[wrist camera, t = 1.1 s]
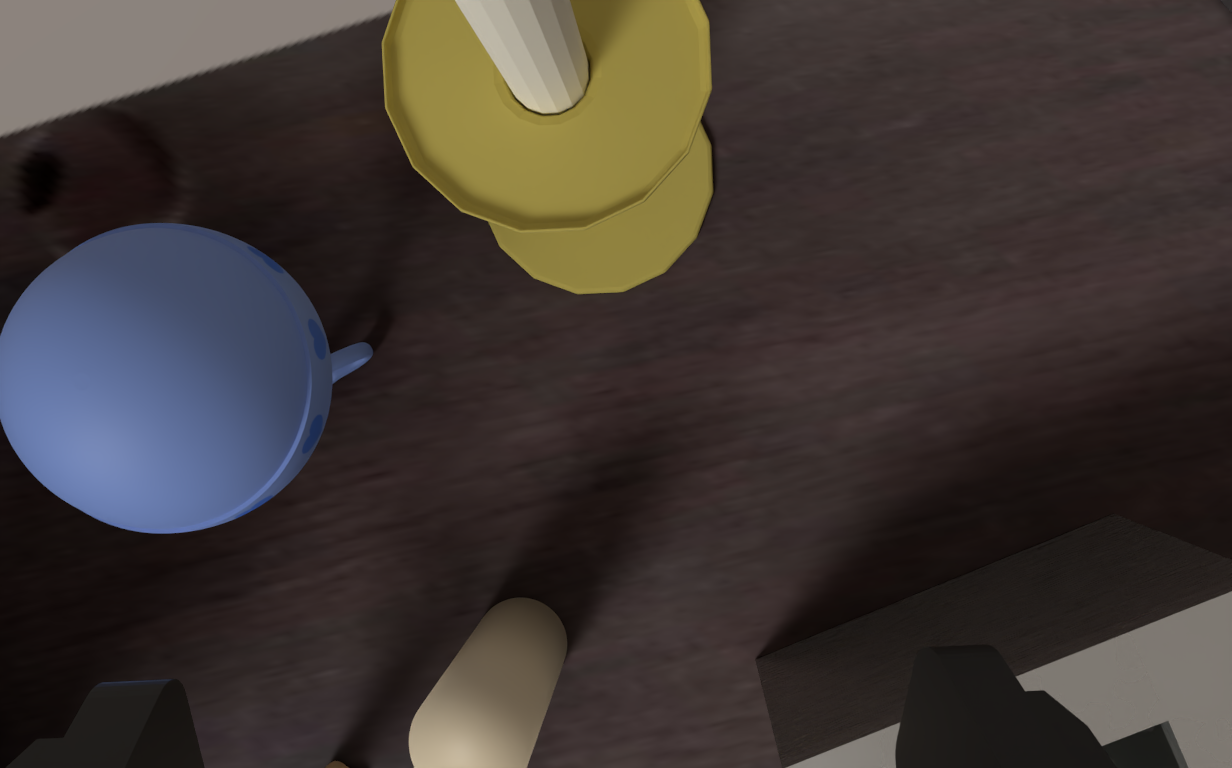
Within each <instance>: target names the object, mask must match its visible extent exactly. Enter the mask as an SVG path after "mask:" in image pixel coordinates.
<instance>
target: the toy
mask: <svg viewBox="0 0 1232 768" xmlns="http://www.w3.org/2000/svg"><path fill="white" fill-rule="evenodd" d="M325 768H349V767H347V766H346V765H345V764H343V763H341V762H339V761H333V762H331V763H330V764H328V765H327V766H326V767H325Z"/></svg>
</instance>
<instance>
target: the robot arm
mask: <svg viewBox="0 0 1232 768" xmlns="http://www.w3.org/2000/svg"><path fill="white" fill-rule="evenodd" d="M1221 2H1222V3H1223V4H1224V5H1225V6H1226V7H1227V8H1228V9H1229V10H1230V12H1231V13H1232V0H1221ZM895 761H896V768H1117V767H1116V765H1115V764H1114V763H1113V761H1112V760H1111V758H1110V757H1109V755H1108V754H1107V753H1106V751H1105V750H1104V748H1103V747H1102V746H1101V744H1100V743H1099V741H1098V740H1097V738H1096V737H1095V736H1094V734H1093V733H1092V731H1091V730H1090V728H1089V727H1088V726H1087V725H1086V724H1085V723H1084V722H1082V721H1081V720H1080V719H1079V718H1077V717H1076V716H1075V715H1074V714H1073V713H1071V712H1070V711H1069V710H1068V709H1066V708H1065V707H1064V706H1063V705H1062V704H1060V703H1059V702H1058V701H1057V700H1055V699H1054V698H1053V697H1052V696H1051V695H1049V694H1048V693H1047V692H1046V691H1044V690H1038V691H1025V690H1024V689H1023V687H1022V686H1021V684H1020V683H1019V681H1018V679H1017V678H1016V676H1015V675H1014V673H1013V672H1012V670H1011V669H1010V667H1009V666H1008V664H1007V663H1006V661H1005V660H1004V658H1003V657H1002V655H1001V654H1000V653H999V651H998V650H997V649H995V648H994V647H993V646H991V645H988V644H980V645H959V646H937V647H923V648H921V649H920V650H919V651H918V653H917V655H916V657H915V661H914V665H913V669H912V674H911V678H910V683H909V687H908V692H907V696H906V700H905V705H904V709H903V714H902V718H901V722H900V727H899V731H898V736H897V741H896V749H895ZM6 768H204V764H203V760H202V756H201V752H200V748H199V744H198V740H197V736H196V732H195V728H194V724H193V720H192V716H191V712H190V708H189V704H188V700H187V696H186V693H185V689H184V687H183V685H182V683H181V682H180V681H179V680H177V679H166V680H145V681H123V682H102V683H100V684H98V685H96V686H95V687H94V688H93V689H92V690H91V691H90V692H89V694H88V695H87V697H86V699H85V700H84V702H83V704H82V706H81V707H80V709H79V711H78V713H77V715H76V716H75V718H74V720H73V722H72V723H71V725H70V727H69V729H68V730H67V732H66V734H65V736H64V738H46V739H36V740H35V741H34V742H33V743H32V744H31V745H30V746H29V747H28V748H26V749H25V750H24V751H23V752H22V753H21V754H20V755H19V756H18V757H17V758H16V759H14V760H13V761H12V762H11V763H10V764H9V765H8V766H7V767H6Z"/></svg>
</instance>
